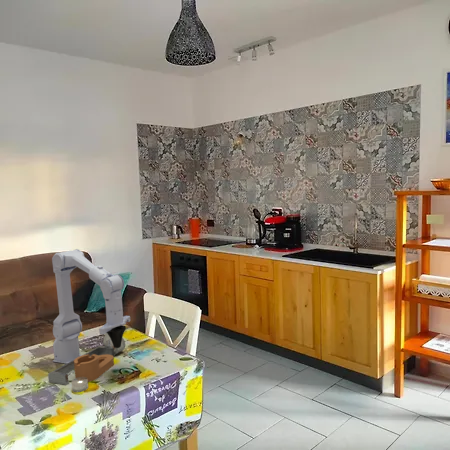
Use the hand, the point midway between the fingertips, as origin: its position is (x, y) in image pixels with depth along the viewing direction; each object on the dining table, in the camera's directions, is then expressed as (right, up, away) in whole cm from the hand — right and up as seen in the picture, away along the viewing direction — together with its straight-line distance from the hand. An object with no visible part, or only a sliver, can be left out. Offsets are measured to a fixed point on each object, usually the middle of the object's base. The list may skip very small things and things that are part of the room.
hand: (117, 347), depth 145 cm
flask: (-11, -8, +33) cm, 36 cm away
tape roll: (-10, -11, -9) cm, 17 cm away
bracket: (-9, -11, +5) cm, 15 cm away
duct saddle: (-13, -10, +9) cm, 19 cm away
